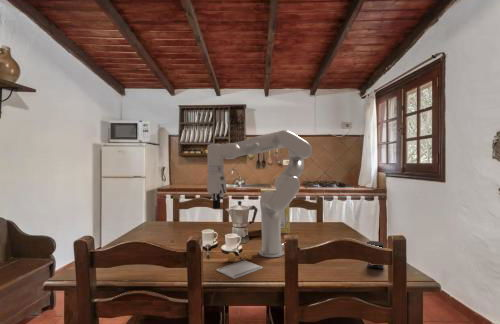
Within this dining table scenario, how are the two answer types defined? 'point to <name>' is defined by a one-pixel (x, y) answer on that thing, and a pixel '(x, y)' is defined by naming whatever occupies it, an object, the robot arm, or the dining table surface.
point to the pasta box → (281, 216)
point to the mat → (239, 269)
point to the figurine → (232, 256)
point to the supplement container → (379, 246)
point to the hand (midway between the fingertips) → (216, 208)
